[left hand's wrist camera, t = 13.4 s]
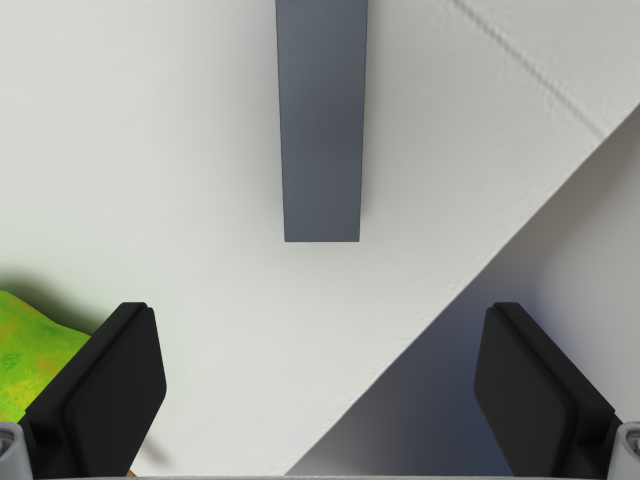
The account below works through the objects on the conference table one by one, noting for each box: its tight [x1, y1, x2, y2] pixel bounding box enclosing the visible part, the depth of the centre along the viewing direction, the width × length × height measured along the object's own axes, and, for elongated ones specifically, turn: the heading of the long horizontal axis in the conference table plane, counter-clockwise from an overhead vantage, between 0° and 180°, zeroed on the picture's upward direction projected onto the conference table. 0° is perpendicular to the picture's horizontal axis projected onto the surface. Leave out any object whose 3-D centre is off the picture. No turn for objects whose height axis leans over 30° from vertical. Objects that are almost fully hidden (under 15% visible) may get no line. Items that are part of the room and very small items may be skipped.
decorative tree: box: [0, 290, 137, 477], centre depth 41 cm, size 18×10×30 cm
